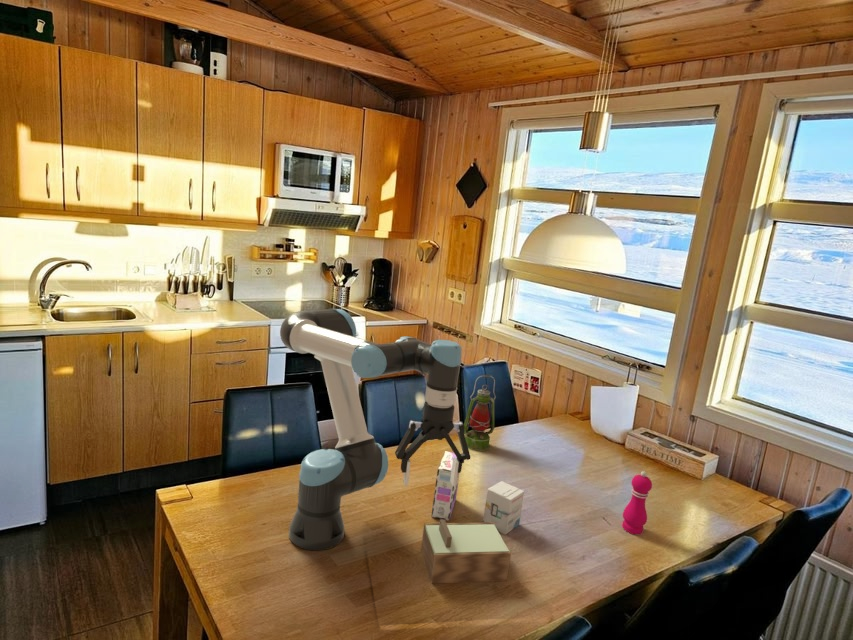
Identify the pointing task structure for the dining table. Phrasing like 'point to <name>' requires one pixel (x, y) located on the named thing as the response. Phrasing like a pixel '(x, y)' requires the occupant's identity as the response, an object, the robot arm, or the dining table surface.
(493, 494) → the ink box
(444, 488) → the candy box
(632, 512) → the pepper mill
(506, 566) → the box
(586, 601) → the dining table surface
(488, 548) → the lid
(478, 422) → the lantern
